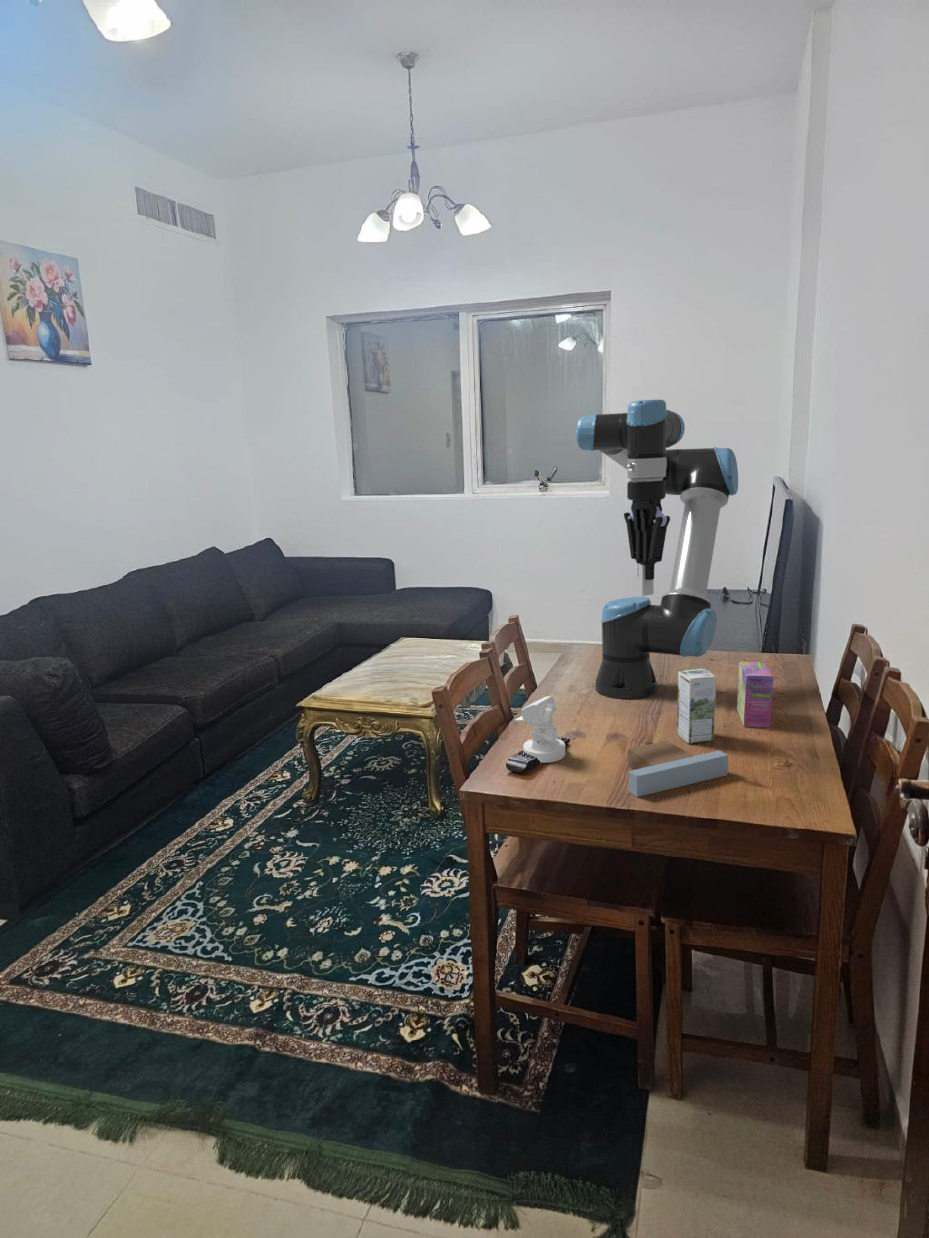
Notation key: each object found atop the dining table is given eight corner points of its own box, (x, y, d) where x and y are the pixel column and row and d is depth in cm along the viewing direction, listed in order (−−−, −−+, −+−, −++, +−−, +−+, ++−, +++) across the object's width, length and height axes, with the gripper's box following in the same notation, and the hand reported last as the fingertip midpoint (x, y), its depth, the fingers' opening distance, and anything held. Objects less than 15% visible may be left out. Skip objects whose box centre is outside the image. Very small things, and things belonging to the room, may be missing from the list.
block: (628, 767, 151) (628, 748, 150) (667, 759, 153) (667, 740, 153) (654, 786, 142) (654, 766, 141) (695, 777, 145) (695, 757, 144)
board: (628, 791, 140) (628, 771, 139) (718, 769, 147) (719, 750, 146) (636, 797, 138) (636, 776, 137) (727, 774, 145) (728, 755, 144)
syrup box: (701, 731, 166) (702, 667, 162) (714, 741, 160) (716, 675, 157) (676, 734, 165) (677, 669, 161) (688, 745, 159) (690, 677, 156)
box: (771, 728, 166) (773, 675, 163) (743, 727, 167) (745, 675, 164) (763, 711, 176) (765, 661, 173) (736, 710, 177) (738, 661, 174)
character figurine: (550, 766, 152) (549, 708, 150) (511, 756, 158) (508, 700, 155) (573, 750, 159) (572, 695, 156) (534, 741, 165) (532, 688, 162)
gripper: (612, 479, 159) (613, 591, 165) (649, 482, 148) (648, 602, 153) (643, 477, 162) (643, 587, 167) (682, 479, 150) (680, 597, 156)
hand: (645, 594), depth 160 cm, fingers closed
